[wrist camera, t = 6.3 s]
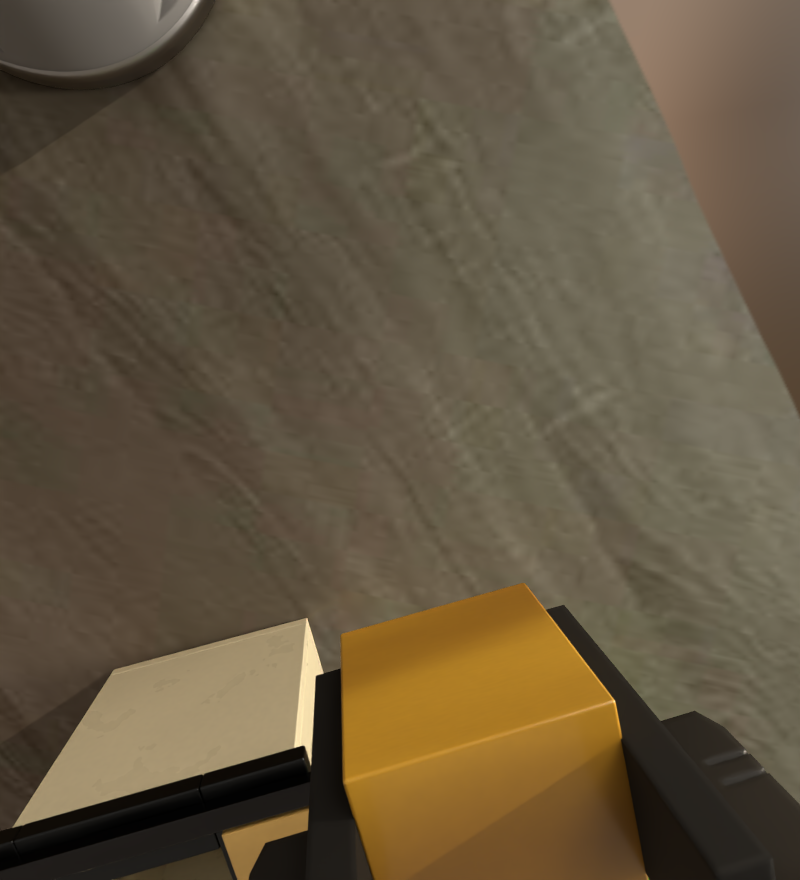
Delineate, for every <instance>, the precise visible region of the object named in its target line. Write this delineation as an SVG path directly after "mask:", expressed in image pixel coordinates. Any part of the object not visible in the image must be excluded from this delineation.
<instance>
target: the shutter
mask: <svg viewBox="0 0 800 880" xmlns="http://www.w3.org/2000/svg"><path fill="white" fill-rule="evenodd" d="M308 815H309V806H306V807H303V808H299V809H296V810H292V811H289V812H285V813H282V814H279V815H275V816H272V817H268V818H265V819H261V820H258V821H254V822H251V823H248V824H244V825H241V826H237V827H234V828H230V829H227V830H224V831H223V832H222V838H223V841H224V844H225V847H226V849H227V852H228V855H229V858H230V860H231V863H232V866H233V869H234V871H235V874H236V877H237V880H249V874H250V872H251V870H252V868H253V866H254V864H255V862H256V860H257V858H258V856H259V854H260V852H261V850H262V848H263V847H264V845H265V843H267V842H270V841H273V840H277V839H280V838H283V837H287V836H290V835H293V834H296V833H300V832H303V831H306V830H308Z"/></svg>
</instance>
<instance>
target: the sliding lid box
mask: <svg viewBox="0 0 800 880" xmlns="http://www.w3.org/2000/svg"><path fill="white" fill-rule="evenodd" d="M320 674H323V670H322V667H321V663H320V660H319V656H318V653H317V650H316V646H315V643H314V639H313V636H312V633H311V629H310V626H309V622H308V619H307V618H304V619H300V620H297V621H293V622H289V623H285V624H282V625H278V626H274V627H271V628H267V629H263V630H259V631H256V632H252V633H248V634H245V635H241V636H237V637H233V638H230V639H226V640H222V641H219V642H215V643H211V644H207V645H204V646H200V647H196V648H192V649H189V650H185V651H181V652H178V653H174V654H170V655H166V656H163V657H159V658H155V659H152V660H148V661H144V662H140V663H137V664H133V665H129V666H126V667H122V668H118V669H114V670H113V672H112V673H111V675H110V676H109V678H108V680H107V681H106V683H105V684H104V686H103V687H102V689H101V690H100V692H99V694H98V695H97V697H96V698H95V700H94V701H93V703H92V704H91V706H90V708H89V709H88V711H87V712H86V714H85V715H84V717H83V718H82V720H81V721H80V723H79V725H78V726H77V728H76V729H75V731H74V732H73V734H72V735H71V737H70V739H69V740H68V742H67V743H66V745H65V746H64V748H63V749H62V751H61V753H60V754H59V756H58V757H57V759H56V760H55V762H54V763H53V765H52V767H51V768H50V770H49V771H48V773H47V774H46V776H45V777H44V779H43V781H42V782H41V784H40V785H39V787H38V788H37V790H36V791H35V793H34V795H33V796H32V798H31V799H30V801H29V802H28V804H27V805H26V807H25V809H24V810H23V812H22V813H21V815H20V816H19V818H18V819H17V821H16V823H15V824H14V826H13V827H12V828H10V829H6V830H3V831H0V880H237V877H236V874H235V871H234V869H233V866H232V863H231V860H230V858H229V855H228V852H227V849H226V847H225V844H224V841H223V838H222V832H223V831H224V830H227V829H230V828H234V827H237V826H241V825H244V824H248V823H251V822H254V821H258V820H261V819H265V818H268V817H272V816H275V815H279V814H282V813H285V812H289V811H292V810H296V809H299V808H303V807H306V806H309V796H310V776H311V757H312V737H313V718H314V698H315V679H316V676H317V675H320Z"/></svg>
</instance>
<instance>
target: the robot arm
mask: <svg viewBox="0 0 800 880" xmlns="http://www.w3.org/2000/svg"><path fill="white" fill-rule="evenodd" d="M214 1H215V0H0V70H2V71H4V72H7V73H9V74H11V75H13V76H16V77H18V78H21V79H24V80H27V81H29V82H33V83H37V84H41V85H44V86H49V87H56V88H62V89H76V90H85V89H100V88H107V87H113V86H116V85H120V84H124V83H128V82H130V81H133V80H135V79H138V78H141V77H143V76H145V75H147V74H149V73H151V72H152V71H154V70H156V69H158V68H159V67H161V66H162V65H164V64H165V63H167V62H168V61H169V60H170V59H172V58H173V57H174V56H175V55H176V54H177V53H179V52H180V51H181V50H182V49H183V48H184V47H185V46H186V44H187V43H188V42H189V41H190V40H191V39H192V38H193V36H194V35H195V34H196V32H197V31H198V30H199V28H200V27H201V25H202V24H203V22H204V20H205V19H206V17H207V15H208V14H209V12H210V9H211V7H212V5H213V3H214ZM546 611H547V613H548V614H549V615H550V617H551V618H552V619H553V620H554V622H555V623H556V624H557V626H558V627H559V628H560V630H561V631H562V632H563V634H564V635H565V636H566V637H567V639H568V640H569V641H570V643H571V644H572V645H573V647H574V648H575V649H576V650H577V652H578V653H579V654H580V656H581V657H582V658H583V660H584V661H585V662H586V663H587V665H588V666H589V667H590V669H591V670H592V671H593V673H594V674H595V675H596V677H597V678H598V679H599V680H600V682H601V683H602V684H603V686H604V687H605V688H606V690H607V691H608V692H609V693H610V695H611V696H612V697H613V699H614V700H615V702H616V707H617V712H618V718H619V723H620V729H621V734H622V738H621V743H622V748H623V754H624V759H625V764H626V770H627V775H628V780H629V786H630V791H631V796H632V802H633V807H634V813H635V818H636V823H637V829H638V834H639V839H640V845H641V850H642V855H643V861H644V866H645V871H646V874H647V876H648V877H649V879H650V880H800V804H799V803H798V802H797V801H796V800H795V799H794V798H793V797H792V796H791V795H790V794H789V793H788V792H787V791H786V790H785V789H784V788H783V787H782V786H781V785H780V784H779V783H778V782H777V781H776V780H775V779H774V778H773V777H772V776H771V775H770V774H769V773H768V774H767V773H766V771H765V769H764V767H763V766H762V765H761V764H760V763H759V762H758V761H757V760H756V759H755V758H754V757H753V756H752V755H751V754H748V753H747V752H746V749H745V748H744V747H743V746H742V745H741V744H740V743H739V742H738V741H737V740H736V739H735V738H734V737H733V736H732V735H731V734H730V733H729V732H728V731H727V730H726V729H725V728H724V727H723V726H721V725H720V724H718V723H716V722H714V721H712V720H710V719H709V718H707V717H705V716H703V715H701V714H699V713H698V712H696V711H693V712H690V713H686V714H683V715H680V716H676V717H673V718H670V719H666V720H663V721H660V720H659V719H658V718H657V716H656V715H655V714H654V713H653V712H652V710H651V709H650V708H649V707H648V706H647V704H646V703H645V702H644V701H643V700H642V698H641V697H640V696H639V695H638V694H637V692H636V691H635V690H634V689H633V688H632V686H631V685H630V684H629V683H628V682H627V680H626V679H625V678H624V677H623V676H622V674H621V673H620V672H619V671H618V669H617V668H616V667H615V666H614V665H613V663H612V662H611V661H610V660H609V659H608V657H607V656H606V655H605V654H604V653H603V651H602V650H601V649H600V648H599V647H598V645H597V644H596V643H595V642H594V641H593V639H592V638H591V637H590V636H589V635H588V633H587V632H586V631H585V630H584V629H583V627H582V626H581V625H580V624H579V622H578V621H577V620H576V619H575V618H574V616H573V615H572V614H571V613H570V612H569V610H568V609H567V608H566V607H565V606H564V605H562V606H558V607H555V608H551V609H548V610H546ZM249 880H373V878H372V875H371V872H370V868H369V865H368V862H367V859H366V855H365V852H364V849H363V846H362V842H361V839H360V836H359V833H358V829H357V826H356V823H355V820H354V818H353V815H352V811H351V808H350V805H349V802H348V798H347V795H346V792H345V789H344V786H343V771H342V712H341V669H338V670H334V671H331V672H327V673H324V674H320V675H317V676H316V679H315V698H314V718H313V737H312V757H311V776H310V796H309V815H308V830H306V831H303V832H300V833H296V834H293V835H290V836H287V837H283V838H280V839H277V840H273V841H270V842H267V843H265V845H264V847H263V848H262V850H261V852H260V854H259V856H258V858H257V860H256V862H255V864H254V866H253V868H252V870H251V872H250V874H249Z"/></svg>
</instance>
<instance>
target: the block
mask: <svg viewBox="0 0 800 880" xmlns="http://www.w3.org/2000/svg"><path fill="white" fill-rule="evenodd" d="M340 652H341V712H342V771H343V786H344V789H345V792H346V795H347V798H348V802H349V805H350V808H351V811H352V815H353V818H354V820H355V823H356V826H357V829H358V833H359V836H360V839H361V842H362V846H363V849H364V852H365V855H366V859H367V862H368V865H369V868H370V872H371V875H372V878H373V880H649V879H648V876H647V874H646V871H645V866H644V861H643V855H642V850H641V845H640V839H639V834H638V829H637V823H636V818H635V813H634V807H633V802H632V796H631V791H630V786H629V780H628V775H627V770H626V764H625V759H624V754H623V748H622V743H621V738H622V734H621V729H620V723H619V718H618V712H617V707H616V702H615V700H614V699H613V697H612V696H611V695H610V693H609V692H608V691H607V690H606V688H605V687H604V686H603V684H602V683H601V682H600V680H599V679H598V678H597V677H596V675H595V674H594V673H593V671H592V670H591V669H590V667H589V666H588V665H587V663H586V662H585V661H584V660H583V658H582V657H581V656H580V654H579V653H578V652H577V650H576V649H575V648H574V647H573V645H572V644H571V643H570V641H569V640H568V639H567V637H566V636H565V635H564V634H563V632H562V631H561V630H560V628H559V627H558V626H557V624H556V623H555V622H554V620H553V619H552V618H551V617H550V615H549V614H548V613H547V611H546V610H545V609H544V607H543V606H542V605H541V604H540V602H539V601H538V600H537V598H536V597H535V596H534V594H533V593H532V592H531V590H530V589H529V588H528V587H527V585H526V584H525V583H521V584H517V585H514V586H510V587H507V588H503V589H499V590H496V591H492V592H489V593H485V594H482V595H478V596H475V597H471V598H468V599H464V600H460V601H457V602H453V603H450V604H446V605H443V606H439V607H436V608H432V609H429V610H425V611H422V612H418V613H414V614H411V615H407V616H404V617H400V618H397V619H393V620H390V621H386V622H383V623H379V624H375V625H372V626H368V627H365V628H361V629H358V630H354V631H351V632H347V633H344V634H342V635H341V636H340Z"/></svg>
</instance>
